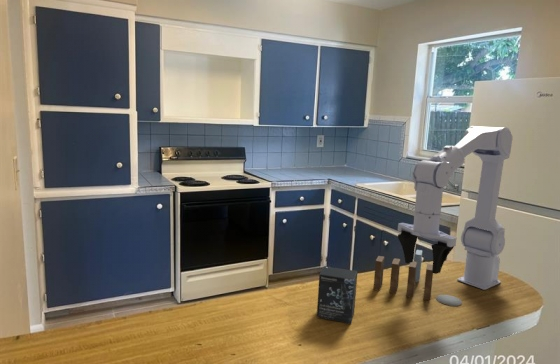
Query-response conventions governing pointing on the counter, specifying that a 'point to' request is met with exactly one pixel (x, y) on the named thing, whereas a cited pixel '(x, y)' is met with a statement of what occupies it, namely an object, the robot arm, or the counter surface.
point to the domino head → (418, 264)
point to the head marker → (449, 300)
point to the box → (336, 294)
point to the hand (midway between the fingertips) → (422, 267)
